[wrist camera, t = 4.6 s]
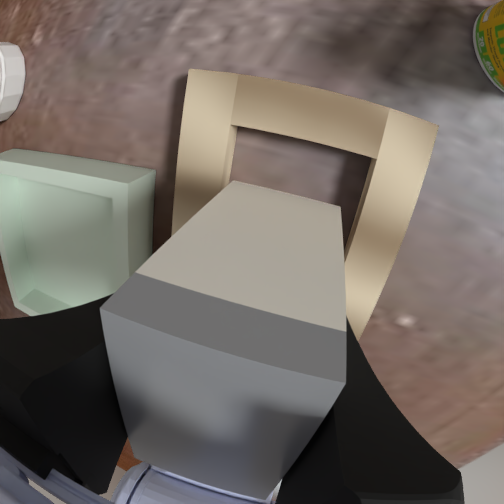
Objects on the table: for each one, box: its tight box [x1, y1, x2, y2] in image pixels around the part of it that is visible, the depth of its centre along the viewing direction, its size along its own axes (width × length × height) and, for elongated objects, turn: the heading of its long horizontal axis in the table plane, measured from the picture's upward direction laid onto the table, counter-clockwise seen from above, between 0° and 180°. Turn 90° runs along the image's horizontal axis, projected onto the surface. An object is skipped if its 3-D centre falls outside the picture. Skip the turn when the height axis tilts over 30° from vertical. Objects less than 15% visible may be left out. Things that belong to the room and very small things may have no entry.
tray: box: [0, 148, 156, 316], centre depth 21 cm, size 14×14×3 cm
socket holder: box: [171, 69, 439, 341], centre depth 17 cm, size 14×12×2 cm
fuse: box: [100, 180, 346, 500], centre depth 10 cm, size 6×4×8 cm, turn 170°
